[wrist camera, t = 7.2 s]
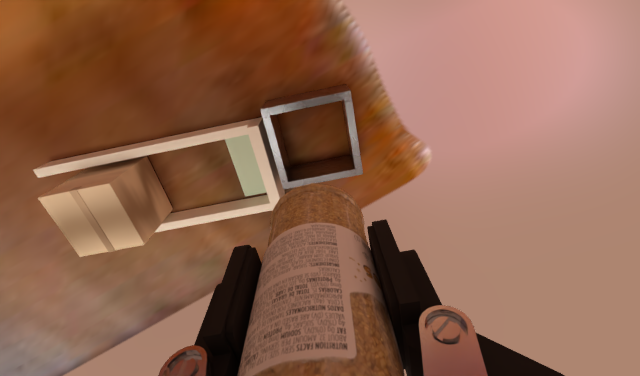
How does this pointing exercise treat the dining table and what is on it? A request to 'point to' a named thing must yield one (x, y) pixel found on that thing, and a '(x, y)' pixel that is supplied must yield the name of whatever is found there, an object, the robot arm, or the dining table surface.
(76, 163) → the bay
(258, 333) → the sprinkles bottle
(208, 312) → the robot arm
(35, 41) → the dining table surface
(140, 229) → the cardboard box
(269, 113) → the winch socket
